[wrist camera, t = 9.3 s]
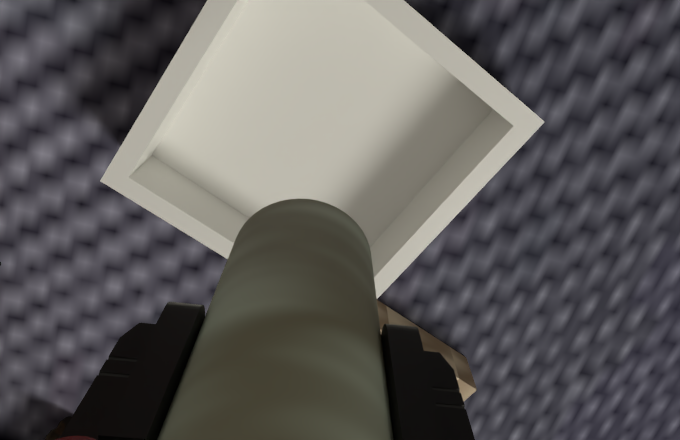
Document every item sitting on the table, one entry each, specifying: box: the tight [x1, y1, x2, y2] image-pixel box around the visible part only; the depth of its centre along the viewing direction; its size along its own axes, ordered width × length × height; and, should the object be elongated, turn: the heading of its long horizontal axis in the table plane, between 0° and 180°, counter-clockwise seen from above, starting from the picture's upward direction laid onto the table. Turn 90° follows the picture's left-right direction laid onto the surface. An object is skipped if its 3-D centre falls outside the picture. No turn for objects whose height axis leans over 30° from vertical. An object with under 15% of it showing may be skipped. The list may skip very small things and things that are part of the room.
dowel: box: [157, 198, 394, 440], centre depth 10 cm, size 4×4×10 cm
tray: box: [100, 0, 544, 299], centre depth 26 cm, size 15×15×4 cm
